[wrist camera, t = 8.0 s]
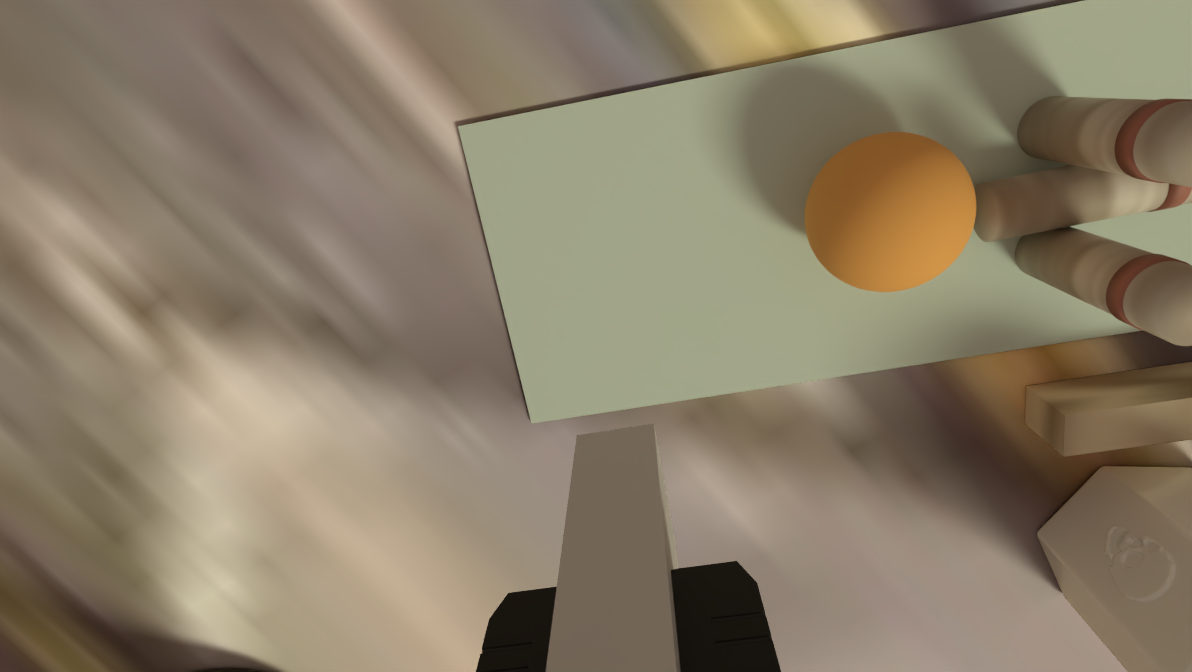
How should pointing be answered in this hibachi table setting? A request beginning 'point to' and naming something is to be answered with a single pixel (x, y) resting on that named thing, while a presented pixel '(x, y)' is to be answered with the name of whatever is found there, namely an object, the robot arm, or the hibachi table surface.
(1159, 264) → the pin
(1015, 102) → the pale green board
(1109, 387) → the backstop
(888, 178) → the ball
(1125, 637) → the jar
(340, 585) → the hibachi table surface
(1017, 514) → the hibachi table surface
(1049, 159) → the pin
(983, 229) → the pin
